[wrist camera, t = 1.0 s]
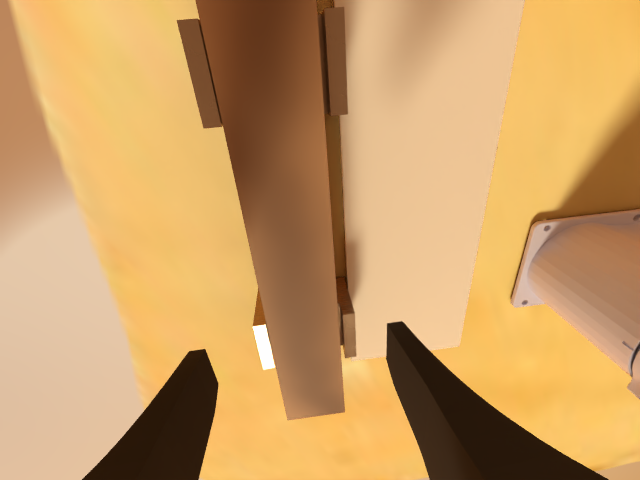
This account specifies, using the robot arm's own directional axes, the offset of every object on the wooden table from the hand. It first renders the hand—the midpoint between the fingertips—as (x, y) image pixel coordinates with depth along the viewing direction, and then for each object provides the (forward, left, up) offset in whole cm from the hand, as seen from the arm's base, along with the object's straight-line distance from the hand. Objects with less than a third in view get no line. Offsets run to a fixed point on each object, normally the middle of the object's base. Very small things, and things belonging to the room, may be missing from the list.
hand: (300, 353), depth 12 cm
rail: (0, -2, -7) cm, 8 cm away
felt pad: (-9, -2, -10) cm, 14 cm away
